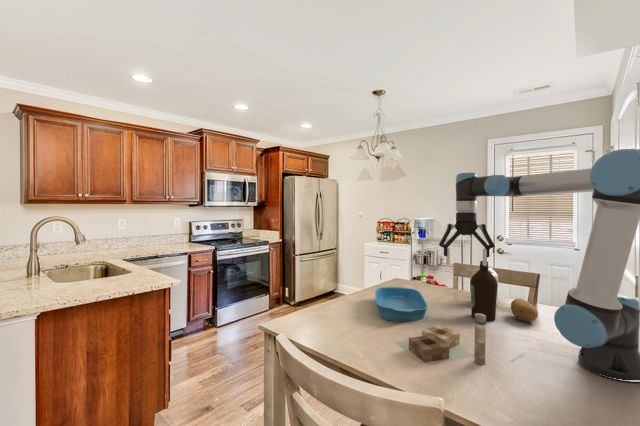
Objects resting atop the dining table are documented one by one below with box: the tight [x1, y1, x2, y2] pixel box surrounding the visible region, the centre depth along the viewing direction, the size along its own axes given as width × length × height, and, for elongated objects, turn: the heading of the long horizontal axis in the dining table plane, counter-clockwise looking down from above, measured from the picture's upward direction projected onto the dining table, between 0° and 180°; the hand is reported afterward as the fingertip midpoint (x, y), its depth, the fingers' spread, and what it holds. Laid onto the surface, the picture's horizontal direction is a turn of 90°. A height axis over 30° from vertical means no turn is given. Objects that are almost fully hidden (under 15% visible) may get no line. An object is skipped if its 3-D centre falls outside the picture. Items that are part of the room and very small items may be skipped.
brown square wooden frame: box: [408, 335, 449, 363], centre depth 102 cm, size 9×9×4 cm
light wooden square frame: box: [421, 324, 461, 349], centre depth 110 cm, size 9×9×4 cm
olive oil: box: [469, 260, 499, 322], centre depth 138 cm, size 11×11×25 cm
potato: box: [510, 298, 539, 323], centre depth 135 cm, size 10×14×8 cm
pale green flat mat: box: [395, 339, 474, 365], centre depth 106 cm, size 16×20×1 cm
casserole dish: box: [374, 286, 428, 322], centre depth 147 cm, size 37×22×7 cm, turn 171°
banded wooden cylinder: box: [473, 313, 487, 366], centre depth 96 cm, size 3×3×16 cm
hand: (466, 264), depth 125 cm, fingers open, 13 cm apart
